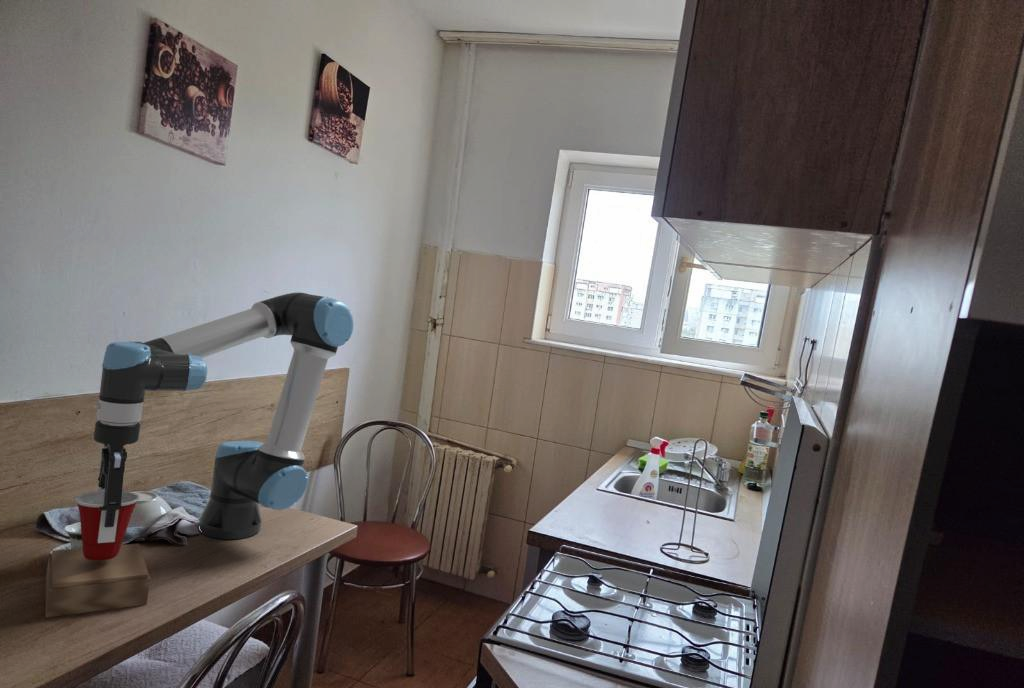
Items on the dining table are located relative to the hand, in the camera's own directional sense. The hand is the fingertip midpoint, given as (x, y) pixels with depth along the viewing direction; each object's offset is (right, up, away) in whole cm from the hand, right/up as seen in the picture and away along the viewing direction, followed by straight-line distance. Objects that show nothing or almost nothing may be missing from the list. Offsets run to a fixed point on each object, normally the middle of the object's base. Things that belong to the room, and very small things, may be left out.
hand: (103, 530), depth 124 cm
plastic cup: (-1, -5, 0) cm, 5 cm away
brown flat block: (-2, -12, +1) cm, 13 cm away
